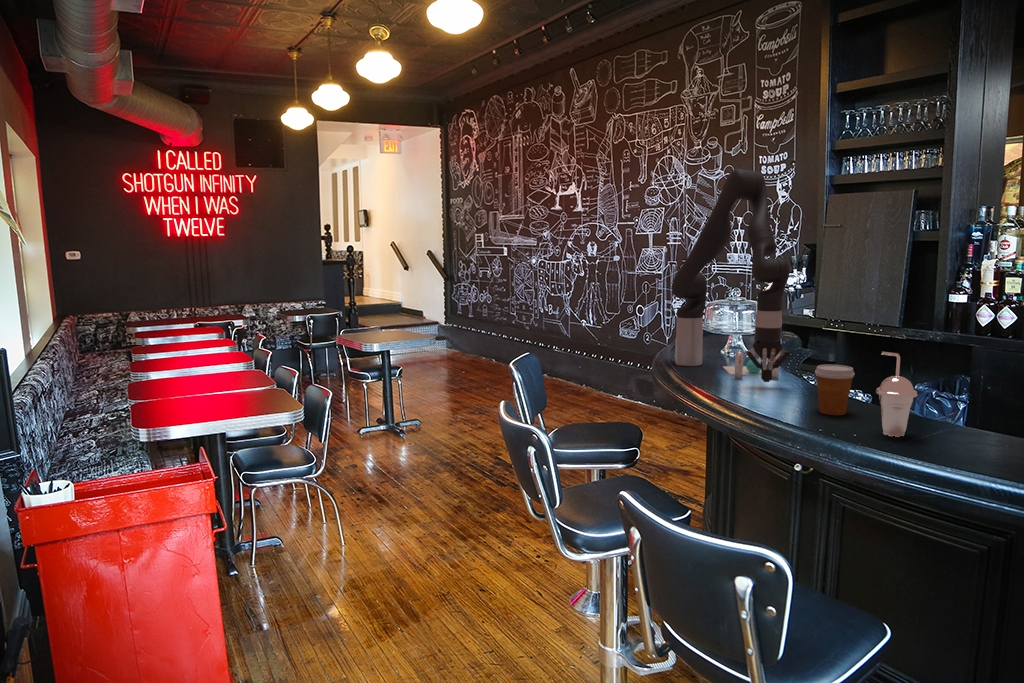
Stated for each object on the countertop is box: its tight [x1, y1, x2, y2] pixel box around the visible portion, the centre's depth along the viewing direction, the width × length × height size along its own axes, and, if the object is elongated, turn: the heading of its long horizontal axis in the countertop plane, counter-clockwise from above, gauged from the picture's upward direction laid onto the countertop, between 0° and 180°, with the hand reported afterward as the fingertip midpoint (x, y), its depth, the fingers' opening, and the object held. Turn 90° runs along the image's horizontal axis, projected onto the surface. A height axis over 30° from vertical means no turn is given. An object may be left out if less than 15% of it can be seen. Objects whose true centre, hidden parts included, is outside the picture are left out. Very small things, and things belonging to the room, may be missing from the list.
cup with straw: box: [875, 350, 918, 438], centre depth 163 cm, size 8×9×20 cm
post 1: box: [734, 350, 744, 381], centre depth 228 cm, size 2×2×9 cm
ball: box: [745, 358, 761, 374], centre depth 236 cm, size 5×5×5 cm
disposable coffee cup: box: [814, 364, 856, 416], centre depth 184 cm, size 10×10×12 cm
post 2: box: [771, 352, 780, 381], centre depth 226 cm, size 2×2×9 cm
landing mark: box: [722, 365, 761, 376], centre depth 241 cm, size 14×14×1 cm
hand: (766, 381), depth 215 cm, fingers closed
